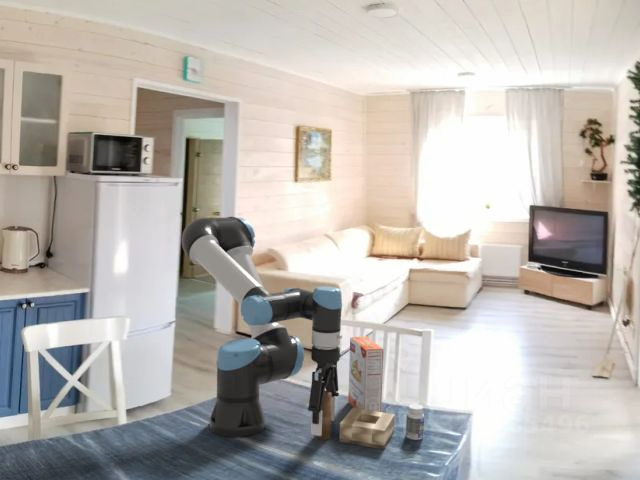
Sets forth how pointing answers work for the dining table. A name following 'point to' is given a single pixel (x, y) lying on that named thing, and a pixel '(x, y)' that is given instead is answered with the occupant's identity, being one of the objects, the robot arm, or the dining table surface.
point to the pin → (326, 416)
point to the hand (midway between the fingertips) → (323, 426)
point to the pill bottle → (415, 422)
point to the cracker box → (365, 374)
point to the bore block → (367, 428)
